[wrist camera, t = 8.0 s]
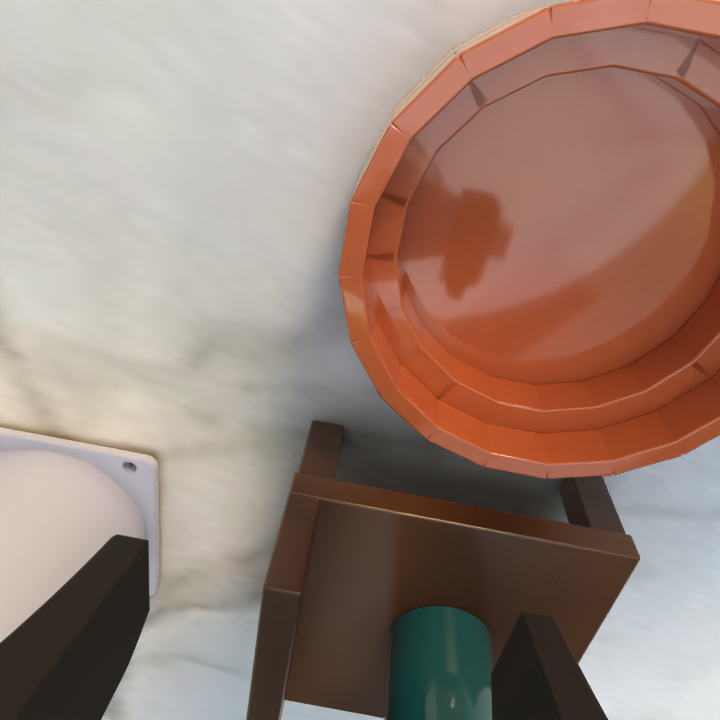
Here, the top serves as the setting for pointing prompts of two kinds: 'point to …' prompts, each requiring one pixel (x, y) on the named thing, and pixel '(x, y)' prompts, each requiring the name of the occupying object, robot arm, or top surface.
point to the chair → (416, 577)
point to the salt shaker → (439, 666)
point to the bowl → (550, 242)
